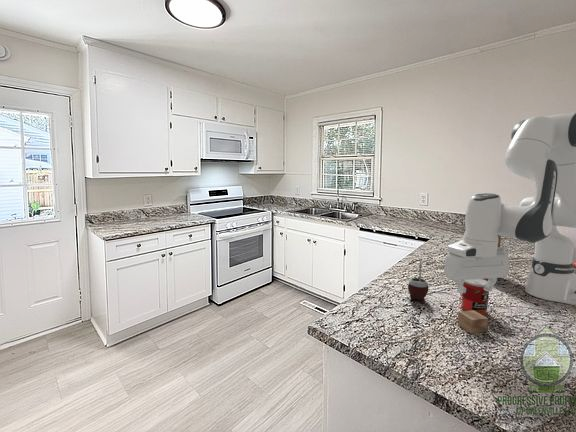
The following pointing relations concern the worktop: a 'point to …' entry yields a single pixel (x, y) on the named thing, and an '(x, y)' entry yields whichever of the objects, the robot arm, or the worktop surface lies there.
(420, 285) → the mate gourd
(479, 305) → the canned food
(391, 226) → the worktop surface
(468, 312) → the walnut block
